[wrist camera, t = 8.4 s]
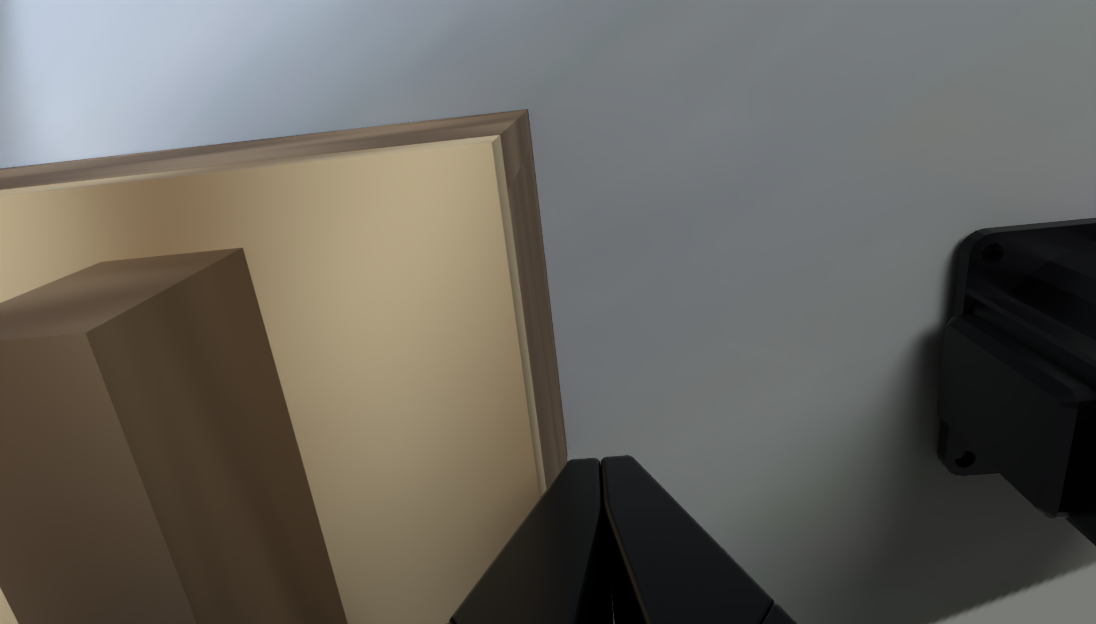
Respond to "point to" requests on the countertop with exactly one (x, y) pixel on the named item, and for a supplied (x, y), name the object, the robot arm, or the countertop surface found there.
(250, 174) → the lid
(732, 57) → the countertop surface
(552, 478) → the wooden box
